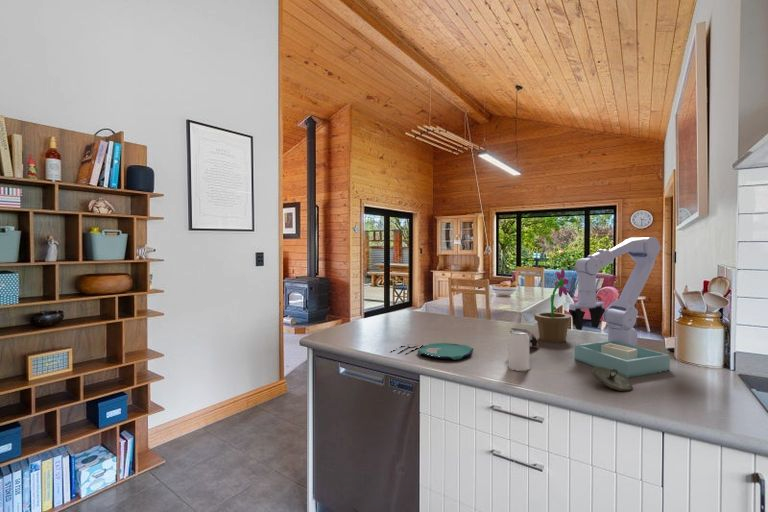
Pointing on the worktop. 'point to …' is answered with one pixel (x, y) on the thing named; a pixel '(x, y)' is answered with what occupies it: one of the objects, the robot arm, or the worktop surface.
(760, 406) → the worktop surface
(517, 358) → the can
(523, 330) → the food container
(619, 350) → the small crate
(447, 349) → the teal platter
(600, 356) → the big tray
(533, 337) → the pottery mug
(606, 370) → the lid
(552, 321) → the flowerpot
